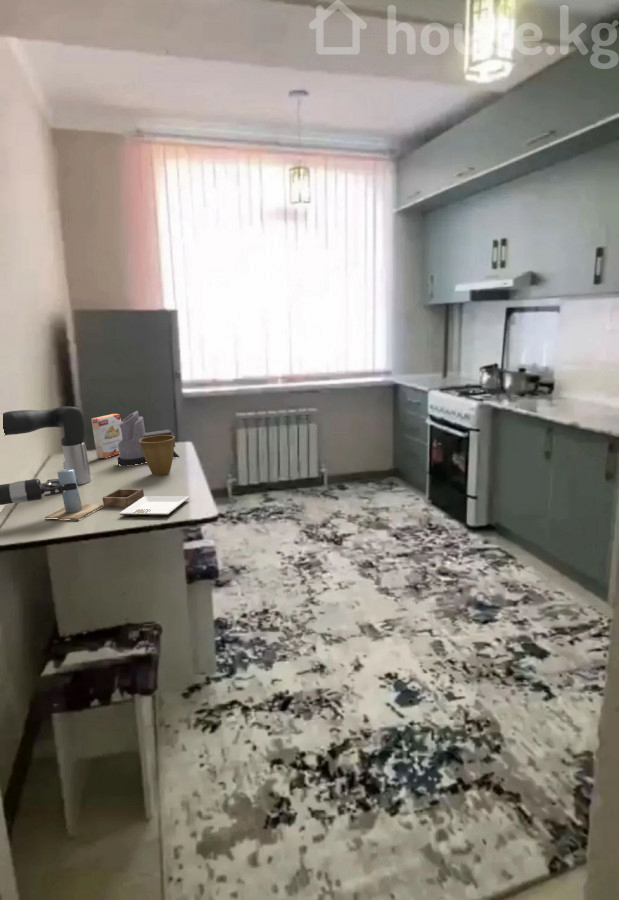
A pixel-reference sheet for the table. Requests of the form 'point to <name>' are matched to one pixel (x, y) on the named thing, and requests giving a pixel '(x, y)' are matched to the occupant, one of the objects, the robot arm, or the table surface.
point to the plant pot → (158, 453)
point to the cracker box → (107, 435)
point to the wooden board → (77, 515)
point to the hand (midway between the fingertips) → (76, 483)
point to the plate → (155, 505)
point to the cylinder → (70, 491)
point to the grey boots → (135, 440)
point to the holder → (123, 497)
